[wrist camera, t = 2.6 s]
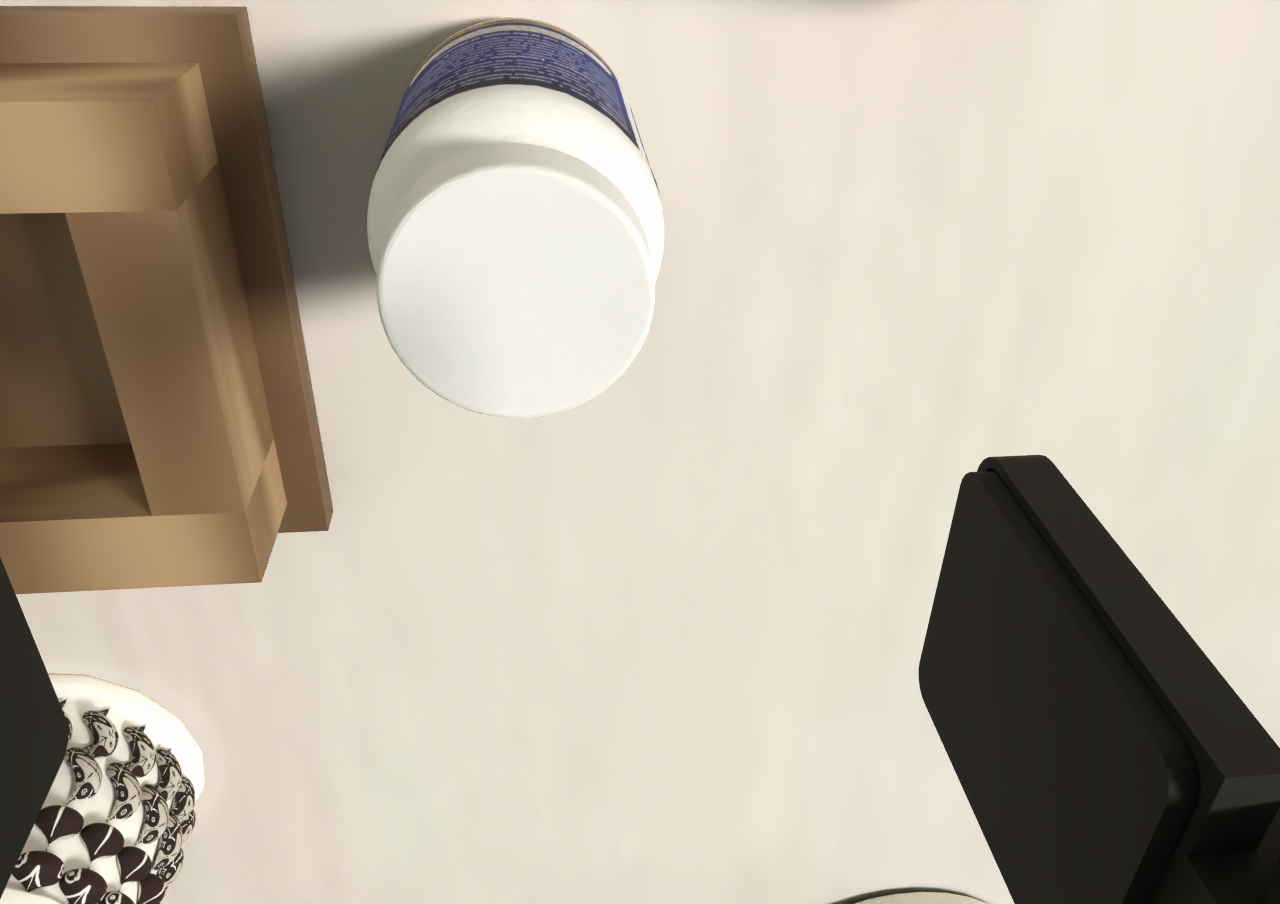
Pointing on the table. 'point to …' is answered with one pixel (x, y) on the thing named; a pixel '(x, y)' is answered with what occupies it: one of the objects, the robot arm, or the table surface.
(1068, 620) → the robot arm
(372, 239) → the pill bottle
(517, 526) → the table surface
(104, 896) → the black white patterned cylinder
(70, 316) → the brown wooden open box
